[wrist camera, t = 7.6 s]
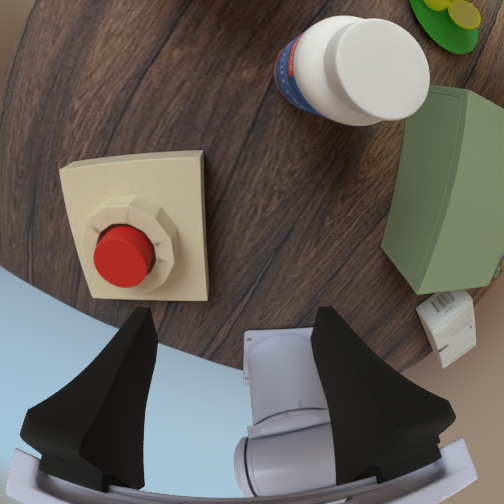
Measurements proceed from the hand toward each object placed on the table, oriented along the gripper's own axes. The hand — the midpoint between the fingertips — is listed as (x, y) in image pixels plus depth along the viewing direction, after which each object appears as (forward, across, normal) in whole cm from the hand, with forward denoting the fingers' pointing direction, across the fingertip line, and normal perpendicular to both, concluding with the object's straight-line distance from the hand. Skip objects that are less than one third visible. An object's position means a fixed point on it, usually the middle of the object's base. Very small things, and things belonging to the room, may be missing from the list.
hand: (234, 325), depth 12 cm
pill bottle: (+11, -5, -11) cm, 16 cm away
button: (+7, +7, 0) cm, 10 cm away
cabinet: (+10, -17, -5) cm, 21 cm away
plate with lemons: (+11, -16, -20) cm, 28 cm away
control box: (+10, +7, 0) cm, 12 cm away
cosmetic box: (+8, -22, +8) cm, 25 cm away
